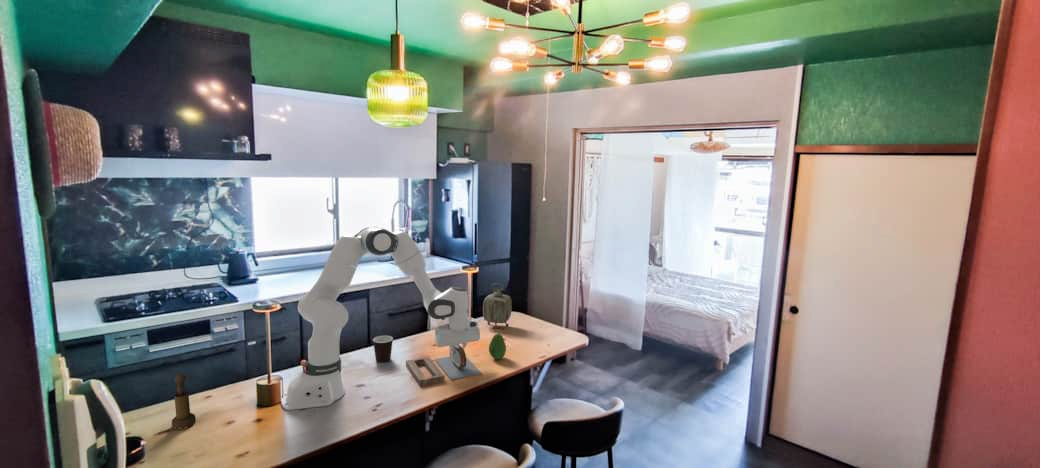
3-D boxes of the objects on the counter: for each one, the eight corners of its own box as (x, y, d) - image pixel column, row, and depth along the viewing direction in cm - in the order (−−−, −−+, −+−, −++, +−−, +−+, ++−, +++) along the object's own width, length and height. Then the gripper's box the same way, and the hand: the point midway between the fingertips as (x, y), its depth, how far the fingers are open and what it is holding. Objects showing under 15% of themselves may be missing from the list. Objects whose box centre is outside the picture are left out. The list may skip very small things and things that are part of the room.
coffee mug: (387, 365, 213) (387, 343, 211) (369, 362, 215) (369, 341, 213) (399, 354, 224) (399, 334, 223) (382, 352, 226) (381, 332, 224)
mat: (451, 380, 200) (451, 379, 200) (434, 360, 219) (434, 359, 219) (481, 374, 207) (481, 373, 207) (463, 355, 226) (463, 354, 226)
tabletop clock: (511, 326, 267) (512, 282, 263) (507, 331, 258) (508, 286, 254) (486, 323, 270) (487, 280, 266) (481, 328, 262) (482, 284, 258)
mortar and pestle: (169, 431, 158) (165, 380, 156) (174, 421, 164) (170, 372, 161) (193, 427, 161) (189, 377, 158) (197, 417, 167) (193, 369, 164)
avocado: (503, 354, 228) (503, 330, 226) (507, 361, 221) (508, 336, 219) (486, 356, 226) (487, 331, 224) (491, 363, 218) (491, 338, 216)
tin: (466, 370, 207) (467, 351, 206) (459, 371, 205) (460, 352, 204) (454, 357, 220) (455, 339, 219) (447, 358, 219) (448, 340, 217)
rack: (419, 386, 194) (419, 380, 194) (406, 365, 213) (406, 360, 212) (444, 381, 199) (444, 375, 199) (429, 361, 218) (429, 356, 217)
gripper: (437, 328, 202) (437, 359, 204) (481, 322, 212) (481, 351, 214) (432, 323, 208) (432, 354, 210) (476, 317, 217) (475, 346, 219)
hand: (457, 352), depth 212 cm, fingers closed on tin, 3 cm apart
